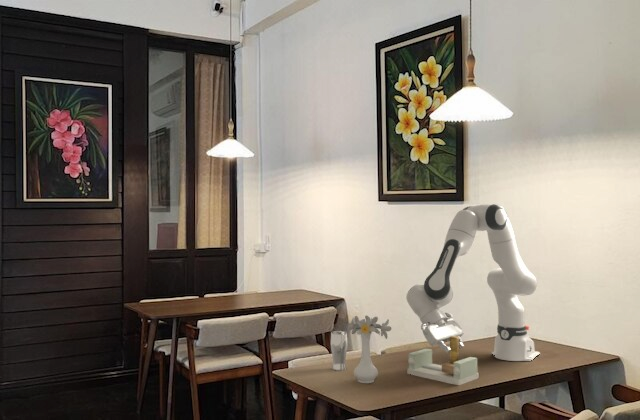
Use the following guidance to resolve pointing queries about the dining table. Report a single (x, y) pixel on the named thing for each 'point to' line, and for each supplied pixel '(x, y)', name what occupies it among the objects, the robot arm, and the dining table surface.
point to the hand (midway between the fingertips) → (455, 349)
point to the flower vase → (367, 346)
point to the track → (424, 368)
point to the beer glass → (339, 350)
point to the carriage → (452, 355)
